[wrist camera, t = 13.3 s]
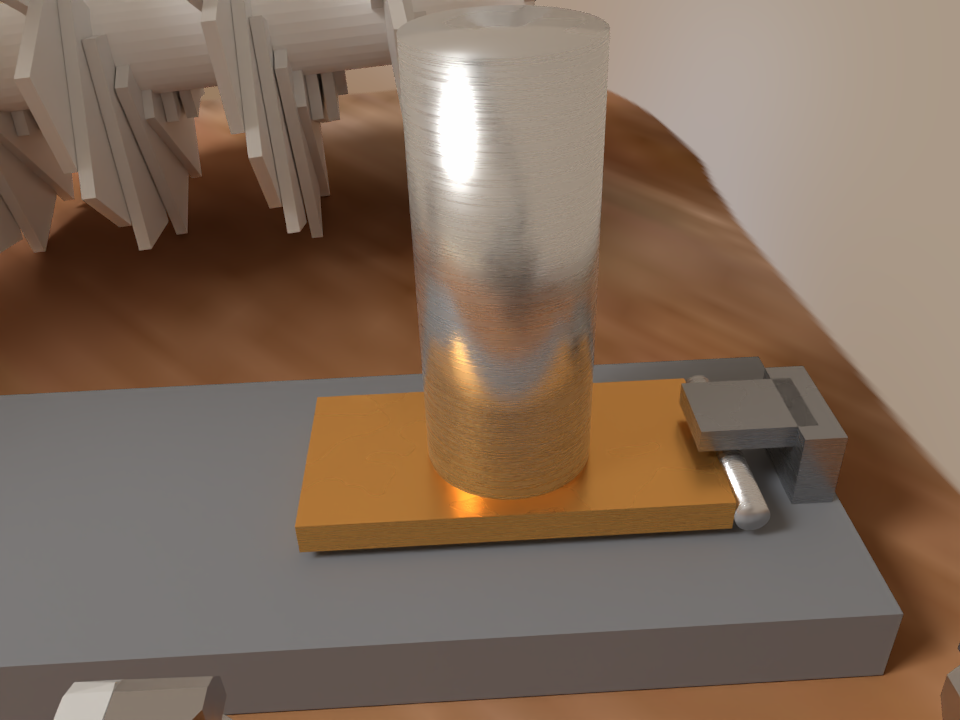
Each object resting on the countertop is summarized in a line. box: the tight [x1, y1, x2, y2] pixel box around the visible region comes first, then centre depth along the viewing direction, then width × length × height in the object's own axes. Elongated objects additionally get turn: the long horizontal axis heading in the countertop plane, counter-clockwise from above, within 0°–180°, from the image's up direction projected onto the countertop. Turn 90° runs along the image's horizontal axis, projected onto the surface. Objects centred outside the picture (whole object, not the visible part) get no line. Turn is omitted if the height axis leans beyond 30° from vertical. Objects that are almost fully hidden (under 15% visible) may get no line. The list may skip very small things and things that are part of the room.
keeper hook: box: [679, 366, 848, 504], centre depth 23 cm, size 3×3×2 cm
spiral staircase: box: [0, 0, 536, 253], centre depth 37 cm, size 18×18×25 cm
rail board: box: [0, 357, 903, 720], centre depth 24 cm, size 25×10×2 cm, turn 93°
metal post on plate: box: [295, 5, 770, 552], centre depth 20 cm, size 11×5×11 cm, turn 93°
